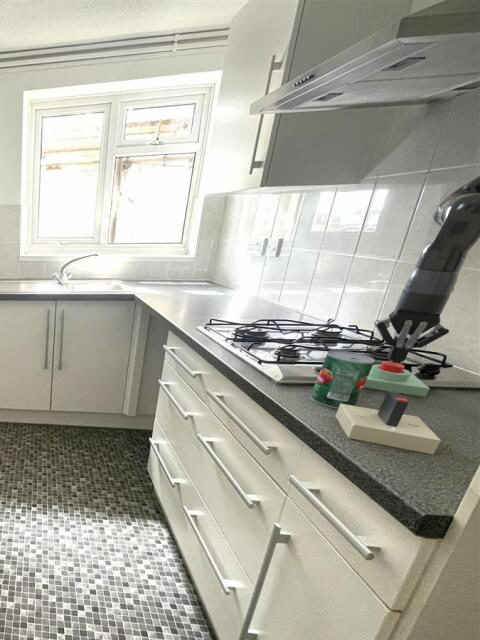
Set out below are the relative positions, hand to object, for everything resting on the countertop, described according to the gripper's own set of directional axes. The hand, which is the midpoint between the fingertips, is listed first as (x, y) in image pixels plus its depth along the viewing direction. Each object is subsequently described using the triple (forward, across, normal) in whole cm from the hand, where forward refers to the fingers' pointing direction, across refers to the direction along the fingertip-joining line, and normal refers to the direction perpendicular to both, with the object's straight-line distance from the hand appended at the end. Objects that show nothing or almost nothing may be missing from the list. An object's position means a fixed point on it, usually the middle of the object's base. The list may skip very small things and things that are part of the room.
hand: (394, 361), depth 100 cm
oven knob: (+3, +9, +32) cm, 33 cm away
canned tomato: (+6, +14, +19) cm, 24 cm away
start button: (+2, 0, 0) cm, 2 cm away
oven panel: (+6, +9, +32) cm, 34 cm away
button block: (+6, 0, 0) cm, 6 cm away
